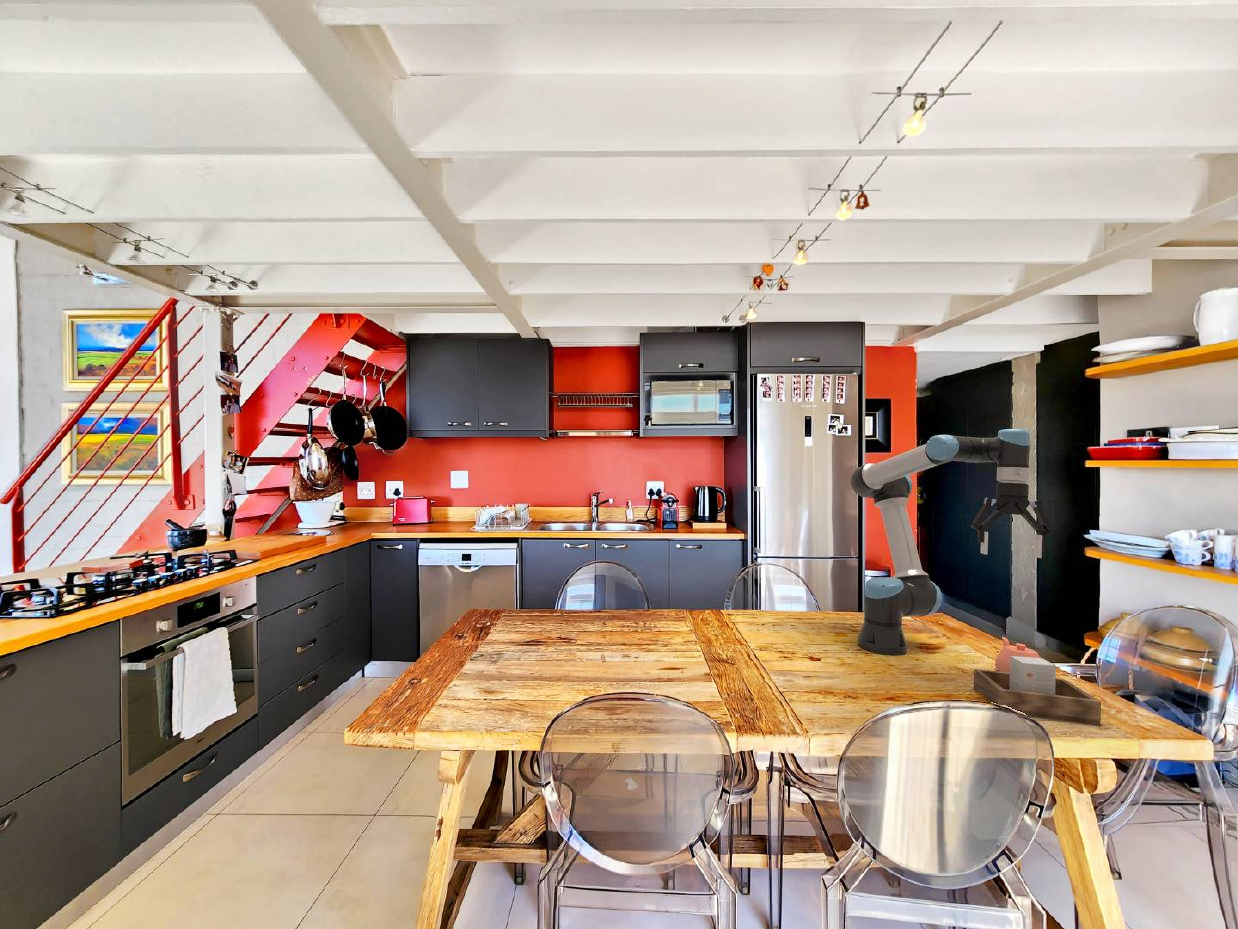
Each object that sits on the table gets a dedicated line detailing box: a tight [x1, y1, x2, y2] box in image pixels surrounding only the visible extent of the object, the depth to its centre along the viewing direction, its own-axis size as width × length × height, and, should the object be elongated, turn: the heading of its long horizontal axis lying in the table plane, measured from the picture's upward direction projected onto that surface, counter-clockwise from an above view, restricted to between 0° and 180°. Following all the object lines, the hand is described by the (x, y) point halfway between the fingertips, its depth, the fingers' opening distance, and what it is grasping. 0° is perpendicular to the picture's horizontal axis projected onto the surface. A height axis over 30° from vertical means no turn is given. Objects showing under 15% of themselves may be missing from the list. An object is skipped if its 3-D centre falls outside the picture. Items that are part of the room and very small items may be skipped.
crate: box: [973, 668, 1102, 726], centre depth 138 cm, size 21×15×6 cm
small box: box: [1009, 656, 1057, 695], centre depth 138 cm, size 8×6×10 cm
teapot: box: [994, 636, 1041, 673], centre depth 160 cm, size 12×18×10 cm
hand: (1010, 555), depth 154 cm, fingers open, 13 cm apart
